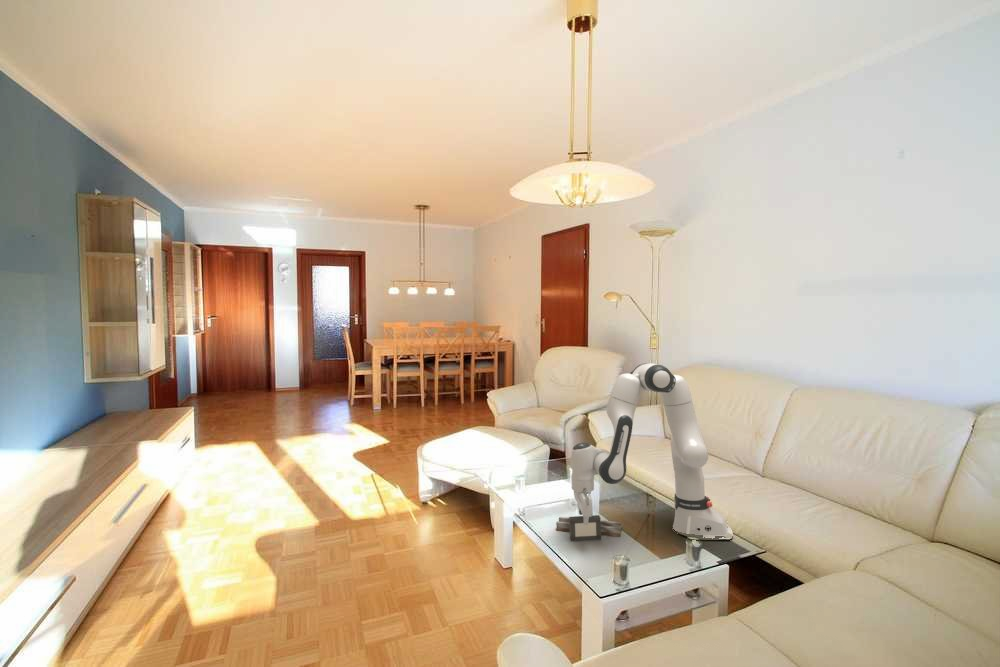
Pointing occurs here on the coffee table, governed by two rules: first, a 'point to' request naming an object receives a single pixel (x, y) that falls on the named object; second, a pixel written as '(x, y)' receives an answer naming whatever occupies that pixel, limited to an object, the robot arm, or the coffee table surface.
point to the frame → (585, 528)
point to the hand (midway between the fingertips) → (583, 518)
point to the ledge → (606, 527)
